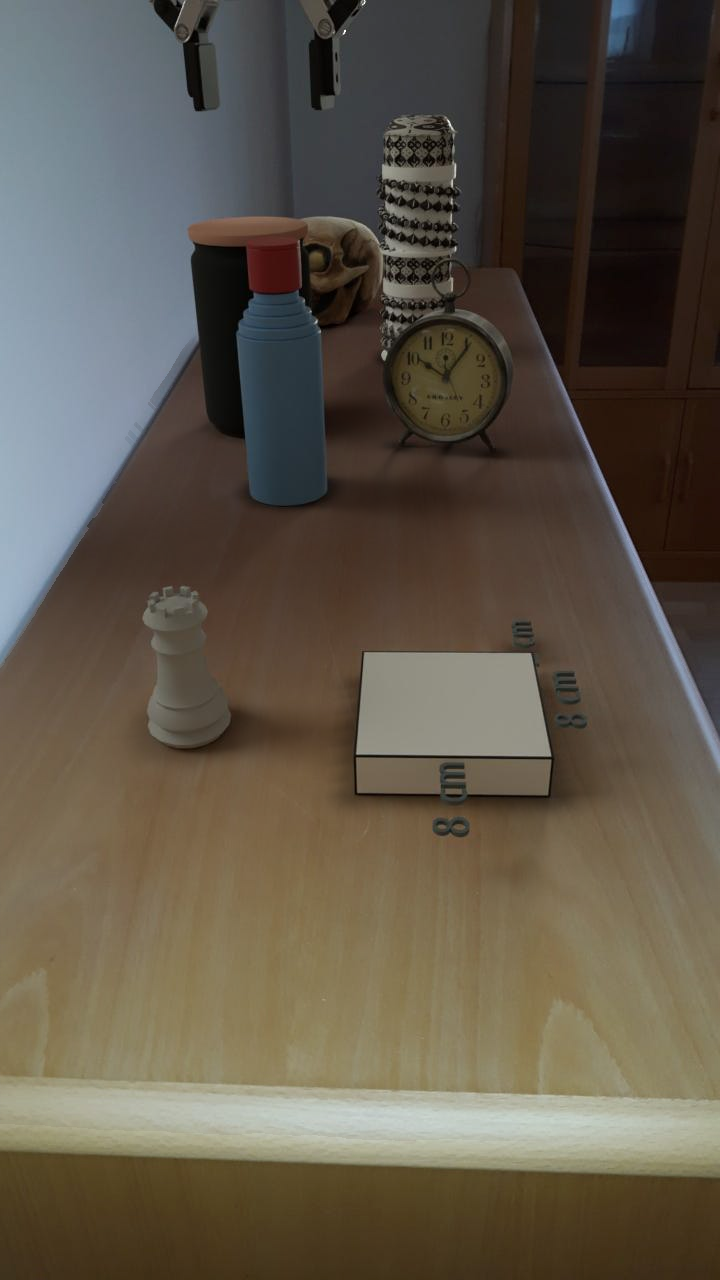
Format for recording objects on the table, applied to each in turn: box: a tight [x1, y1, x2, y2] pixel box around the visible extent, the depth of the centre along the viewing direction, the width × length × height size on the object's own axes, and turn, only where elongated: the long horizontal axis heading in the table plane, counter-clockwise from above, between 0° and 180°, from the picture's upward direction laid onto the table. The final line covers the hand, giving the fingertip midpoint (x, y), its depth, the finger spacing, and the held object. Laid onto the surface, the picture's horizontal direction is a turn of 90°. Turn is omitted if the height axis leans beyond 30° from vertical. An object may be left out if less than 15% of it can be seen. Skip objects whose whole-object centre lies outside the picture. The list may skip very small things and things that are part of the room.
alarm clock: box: [382, 257, 514, 454], centre depth 85 cm, size 11×5×16 cm, turn 73°
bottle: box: [236, 290, 328, 507], centre depth 76 cm, size 6×6×19 cm
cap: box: [246, 237, 302, 293], centre depth 72 cm, size 4×4×3 cm
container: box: [353, 620, 588, 838], centre depth 51 cm, size 20×11×3 cm, turn 177°
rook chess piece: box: [141, 585, 232, 750], centre depth 51 cm, size 4×4×8 cm
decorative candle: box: [375, 114, 462, 362], centre depth 109 cm, size 9×9×25 cm
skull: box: [299, 215, 384, 327], centre depth 132 cm, size 16×17×13 cm
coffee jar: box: [187, 216, 312, 439], centre depth 92 cm, size 11×11×18 cm
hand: (264, 107), depth 67 cm, fingers open, 7 cm apart
